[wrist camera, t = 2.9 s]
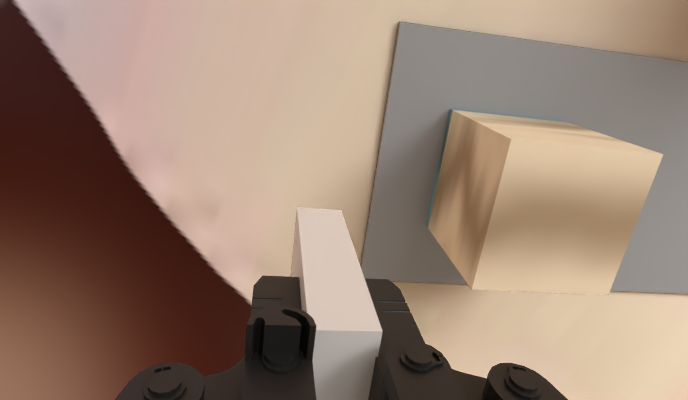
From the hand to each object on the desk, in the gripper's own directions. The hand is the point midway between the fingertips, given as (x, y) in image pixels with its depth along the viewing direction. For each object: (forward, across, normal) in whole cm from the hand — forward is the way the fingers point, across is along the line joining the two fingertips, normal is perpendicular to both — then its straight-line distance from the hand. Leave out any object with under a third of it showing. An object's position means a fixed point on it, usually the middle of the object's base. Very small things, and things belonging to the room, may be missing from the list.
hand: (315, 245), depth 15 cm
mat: (+10, +18, 0) cm, 21 cm away
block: (+10, +11, 0) cm, 15 cm away
